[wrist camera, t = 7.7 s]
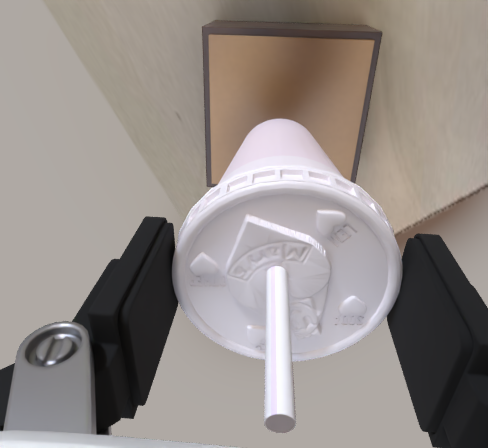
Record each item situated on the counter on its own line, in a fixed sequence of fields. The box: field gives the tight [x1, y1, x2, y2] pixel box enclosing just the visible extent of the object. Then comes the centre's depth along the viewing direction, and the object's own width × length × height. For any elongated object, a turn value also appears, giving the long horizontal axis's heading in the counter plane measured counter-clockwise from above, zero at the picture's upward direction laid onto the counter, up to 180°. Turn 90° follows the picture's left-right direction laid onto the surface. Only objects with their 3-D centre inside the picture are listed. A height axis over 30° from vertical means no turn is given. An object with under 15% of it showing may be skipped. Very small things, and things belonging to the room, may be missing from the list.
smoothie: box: [172, 119, 402, 433], centre depth 13 cm, size 6×6×14 cm
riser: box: [202, 20, 382, 187], centre depth 27 cm, size 10×10×5 cm
